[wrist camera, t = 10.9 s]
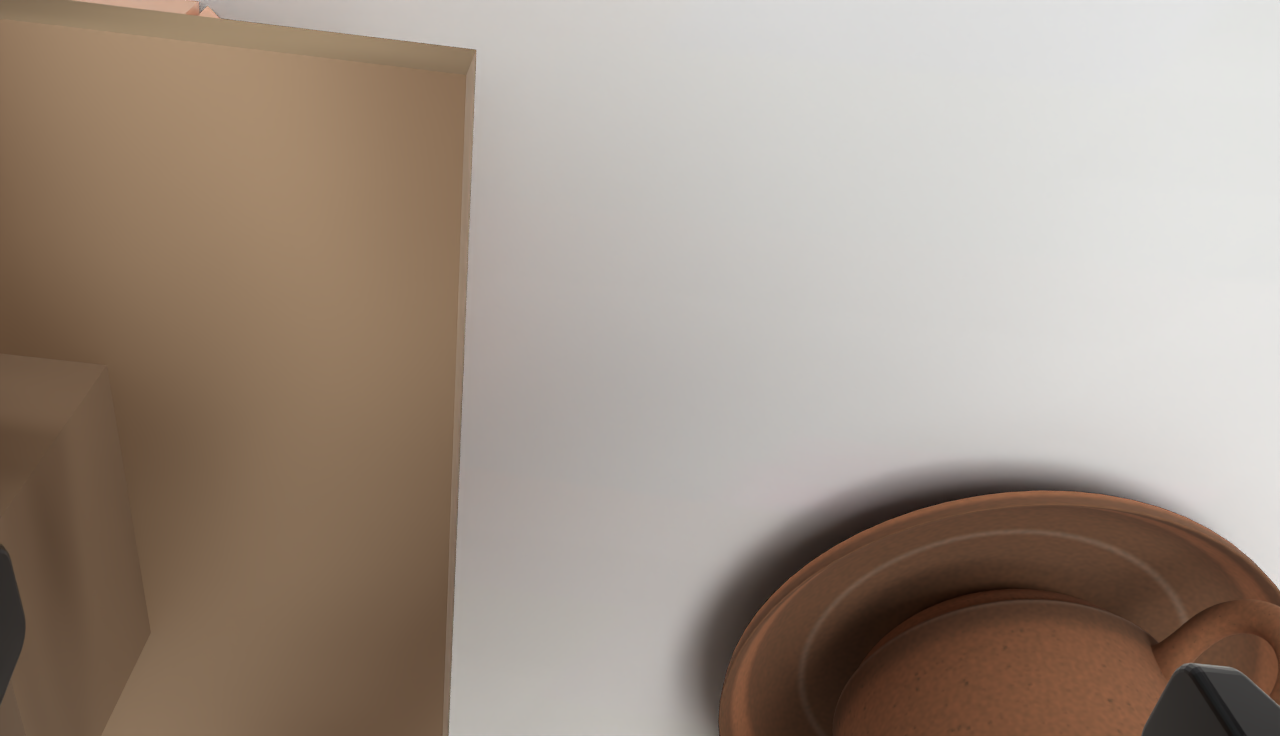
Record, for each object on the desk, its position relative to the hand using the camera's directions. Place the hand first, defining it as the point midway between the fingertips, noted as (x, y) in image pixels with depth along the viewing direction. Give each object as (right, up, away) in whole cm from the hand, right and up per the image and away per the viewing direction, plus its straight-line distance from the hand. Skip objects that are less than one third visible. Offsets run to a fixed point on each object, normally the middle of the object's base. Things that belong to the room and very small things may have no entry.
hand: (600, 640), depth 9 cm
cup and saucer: (+8, -4, +18) cm, 20 cm away
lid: (-9, +1, +8) cm, 12 cm away
